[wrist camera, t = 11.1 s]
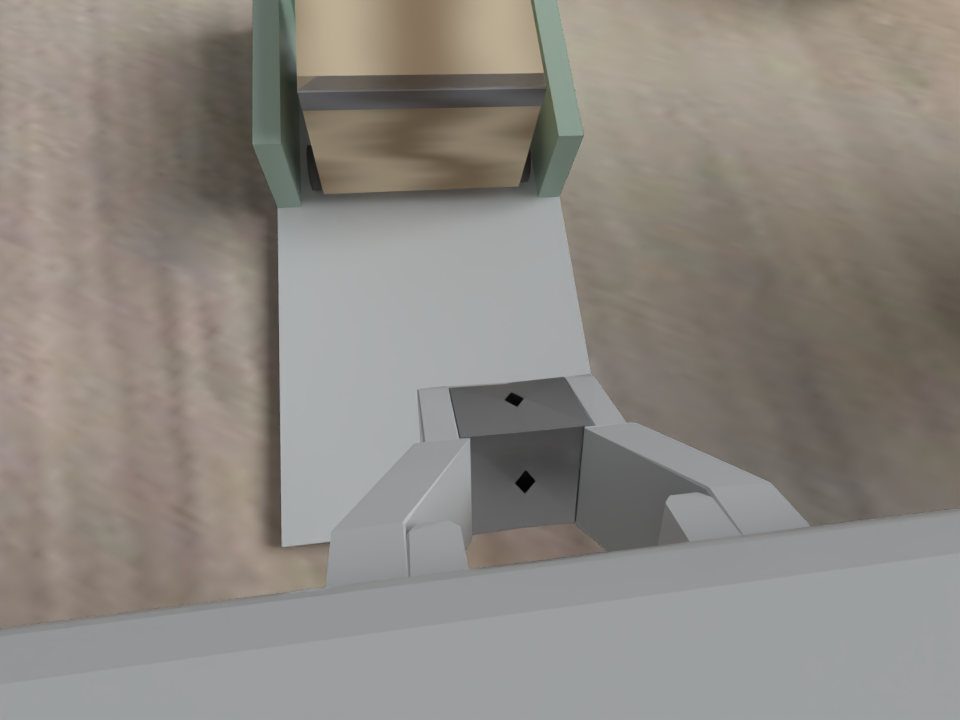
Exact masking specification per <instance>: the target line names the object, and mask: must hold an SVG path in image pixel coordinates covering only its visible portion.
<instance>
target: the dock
mask: <svg viewBox="0 0 960 720" xmlns="http://www.w3.org/2000/svg"><path fill="white" fill-rule="evenodd" d="M531 4H532V10H533V15H534V21H535V26H536V32H537V37H538V43H539V48H540V54H541V59H542V65H543V70H544V76H545V81H546V87H547V90H546V93H545V97H544V101H543V104H542V106H541V108H540V112H539V115H538V119H537V123H536V126H535V130H534V133H533V137H532V141H531V144H530V151H531V171H530V177H529V180H528V182H524V183H520V184H519V187H496V188H470V189H444V190H418V191H392V192H366V193H340V194H324V193H323V190H312V188H311V185H310V180H309V174H308V166H307V145H311V142H310V138H309V134H308V130H307V127H306V123H305V119H304V115H303V111H302V109H301V105H300V101H299V97H298V93H297V59H296V20H295V0H253V65H252V145H253V148H254V150H255V153H256V155H257V158H258V160H259V163H260V165H261V168H262V170H263V173H264V175H265V178H266V180H267V183H268V185H269V188H270V190H271V193H272V195H273V198H274V200H275V203H276V205H277V208H278V279H279V361H280V444H281V527H282V547H294V546H302V545H311V544H320V543H328V542H330V539H331V531H332V530H333V529H334V528H335V527H336V526H337V525H338V524H339V523H340V522H341V521H342V519H343V518H344V517H345V516H346V515H347V514H348V513H349V512H350V511H351V510H352V509H353V508H354V507H355V506H356V505H357V504H358V502H359V501H360V500H361V499H362V498H363V497H364V496H365V495H366V494H367V493H368V492H369V491H370V490H371V489H372V488H373V487H374V486H375V484H376V483H377V482H378V481H379V480H380V479H381V478H382V477H383V476H384V475H385V474H386V473H387V472H388V471H389V470H390V469H391V468H392V466H393V465H394V464H395V463H396V462H397V461H398V460H399V459H400V458H401V457H402V456H403V455H404V454H405V453H406V452H407V451H408V449H409V448H410V447H411V446H412V445H413V444H414V443H420V431H419V416H418V400H417V389H421V388H431V387H440V386H447V387H448V386H461V385H476V384H492V383H510V382H520V381H529V380H538V379H547V378H556V377H568V376H576V375H584V374H591V371H590V365H589V359H588V354H587V348H586V343H585V337H584V331H583V326H582V320H581V315H580V309H579V303H578V298H577V292H576V287H575V281H574V275H573V270H572V264H571V259H570V253H569V247H568V242H567V236H566V231H565V225H564V219H563V214H562V208H561V203H560V197H559V196H560V194H561V191H562V189H563V186H564V184H565V181H566V179H567V176H568V174H569V171H570V169H571V166H572V164H573V161H574V159H575V156H576V154H577V151H578V149H579V146H580V144H581V141H582V139H583V136H584V134H583V129H582V124H581V119H580V114H579V109H578V104H577V99H576V94H575V89H574V84H573V79H572V74H571V69H570V64H569V59H568V54H567V49H566V44H565V39H564V34H563V29H562V24H561V19H560V14H559V9H558V4H557V0H531Z"/></svg>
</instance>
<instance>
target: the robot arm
mask: <svg viewBox="0 0 960 720" xmlns="http://www.w3.org/2000/svg"><path fill="white" fill-rule="evenodd" d="M417 400H418V416H419V431H420V443H414V444H413V445H412V446H411V447H410V448H409V449H408V451H407V452H406V453H405V454H404V455H403V456H402V457H401V458H400V459H399V460H398V461H397V462H396V463H395V464H394V465H393V466H392V468H391V469H390V470H389V471H388V472H387V473H386V474H385V475H384V476H383V477H382V478H381V479H380V480H379V481H378V482H377V483H376V484H375V486H374V487H373V488H372V489H371V490H370V491H369V492H368V493H367V494H366V495H365V496H364V497H363V498H362V499H361V500H360V501H359V502H358V504H357V505H356V506H355V507H354V508H353V509H352V510H351V511H350V512H349V513H348V514H347V515H346V516H345V517H344V518H343V519H342V521H341V522H340V523H339V524H338V525H337V526H336V527H335V528H334V529H333V530H332V531H331V539H330V548H329V558H328V567H327V577H326V586H325V587H324V588H316V589H308V590H300V591H292V592H284V593H276V594H268V595H260V596H252V597H244V598H236V599H228V600H220V601H212V602H204V603H196V604H188V605H180V606H172V607H164V608H156V609H148V610H141V611H133V612H125V613H117V614H109V615H101V616H93V617H85V618H77V619H69V620H61V621H54V622H46V623H38V624H30V625H22V626H14V627H6V628H0V720H960V508H953V509H945V510H938V511H930V512H922V513H914V514H906V515H898V516H890V517H882V518H874V519H866V520H858V521H850V522H842V523H834V524H826V525H818V526H810V525H809V524H808V523H807V521H806V520H805V519H804V518H803V517H802V516H801V515H800V514H799V513H798V512H797V511H796V509H795V508H794V507H793V506H792V505H791V504H790V503H789V502H788V501H787V500H786V499H785V497H784V496H783V495H782V494H781V493H780V492H779V491H778V490H777V489H776V488H775V487H774V486H773V484H772V483H771V482H769V481H766V480H764V479H762V478H760V477H757V476H755V475H753V474H751V473H748V472H746V471H744V470H742V469H739V468H737V467H735V466H733V465H731V464H728V463H726V462H724V461H722V460H719V459H717V458H715V457H713V456H710V455H708V454H706V453H704V452H701V451H699V450H697V449H695V448H692V447H690V446H688V445H686V444H683V443H681V442H679V441H677V440H674V439H672V438H670V437H668V436H666V435H663V434H661V433H659V432H657V431H654V430H652V429H650V428H648V427H645V426H643V425H641V424H639V423H636V422H630V423H626V421H625V420H624V418H623V417H622V415H621V414H620V412H619V411H618V410H617V408H616V407H615V405H614V404H613V402H612V401H611V400H610V398H609V397H608V395H607V394H606V392H605V391H604V390H603V388H602V387H601V385H600V384H599V382H598V381H597V379H596V378H595V377H594V375H591V374H584V375H576V376H568V377H556V378H547V379H538V380H529V381H520V382H510V383H492V384H476V385H461V386H448V387H447V386H440V387H431V388H421V389H417ZM569 523H576V526H577V527H579V528H580V529H581V530H582V531H583V532H585V533H586V534H587V535H588V536H590V537H591V538H592V539H593V540H594V541H596V542H597V543H598V544H599V545H601V546H602V547H603V548H604V549H605V550H607V551H608V552H603V553H595V554H587V555H579V556H571V557H563V558H555V559H547V560H539V561H531V562H523V563H515V564H507V565H499V566H491V567H483V568H475V569H469V568H468V563H467V558H466V553H465V551H466V549H467V547H468V545H469V543H470V541H471V539H472V535H476V534H483V533H489V532H496V531H503V530H510V529H517V528H524V527H535V526H546V525H558V524H569Z"/></svg>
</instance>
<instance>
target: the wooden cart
mask: <svg viewBox="0 0 960 720" xmlns="http://www.w3.org/2000/svg"><path fill="white" fill-rule="evenodd" d="M295 20H296V59H297V93H298V97H299V101H300V105H301V109H302V111H303V115H304V119H305V123H306V127H307V130H308V134H309V138H310V142H311V145H307V166H308V174H309V180H310V185H311V188H312V190H323V193H324V194H340V193H366V192H392V191H418V190H444V189H470V188H496V187H519V184H520V183H524V182H528V180H529V177H530V171H531V151H530V144H531V141H532V137H533V133H534V130H535V126H536V123H537V119H538V115H539V112H540V108H541V106H542V104H543V101H544V97H545V93H546V90H547V87H546V81H545V76H544V70H543V65H542V59H541V54H540V48H539V43H538V37H537V32H536V26H535V21H534V15H533V10H532V4H531V0H295Z"/></svg>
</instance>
